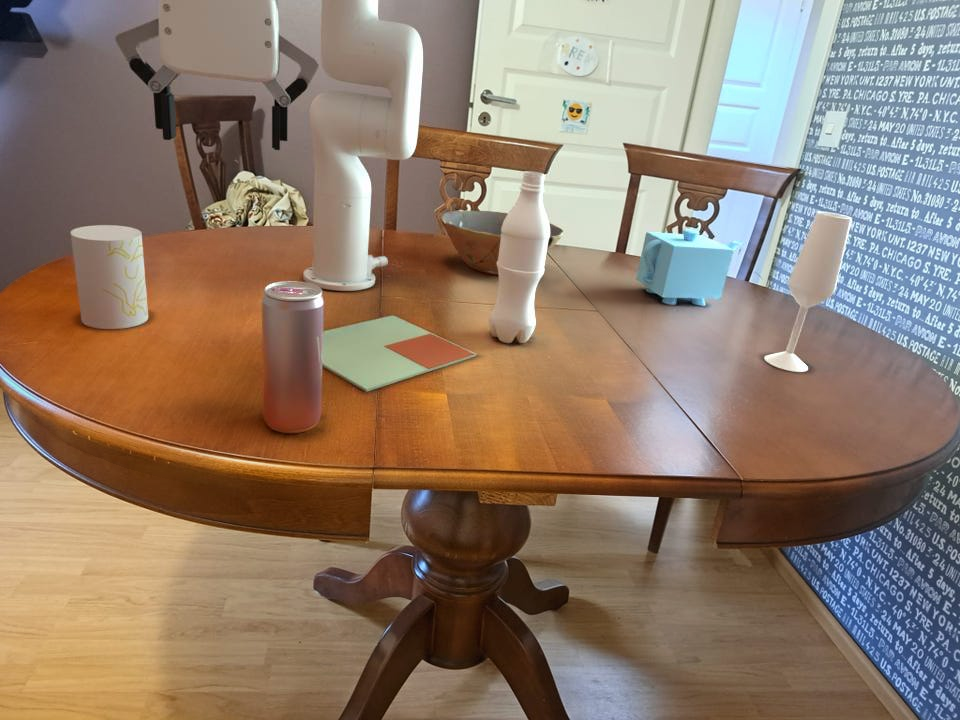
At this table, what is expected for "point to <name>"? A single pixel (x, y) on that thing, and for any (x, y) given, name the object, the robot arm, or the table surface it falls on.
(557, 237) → the bowl
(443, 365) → the placemat
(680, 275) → the teapot
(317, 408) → the beverage can
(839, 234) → the champagne flute
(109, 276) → the cup
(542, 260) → the water bottle
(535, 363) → the table surface
